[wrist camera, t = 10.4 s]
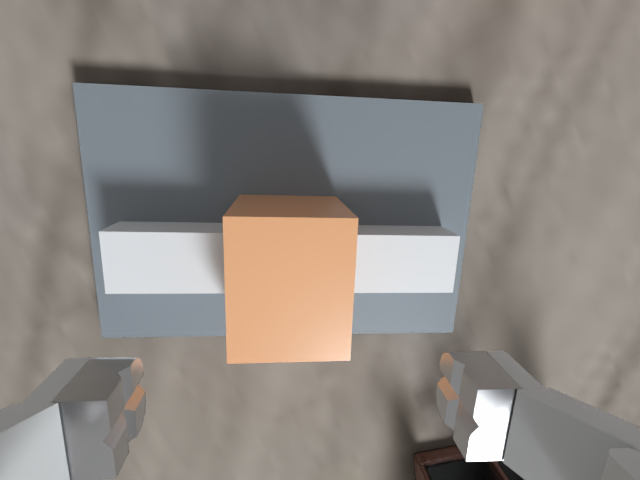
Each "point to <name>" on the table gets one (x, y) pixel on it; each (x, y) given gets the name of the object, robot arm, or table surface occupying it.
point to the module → (289, 278)
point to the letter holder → (458, 467)
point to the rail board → (270, 179)
